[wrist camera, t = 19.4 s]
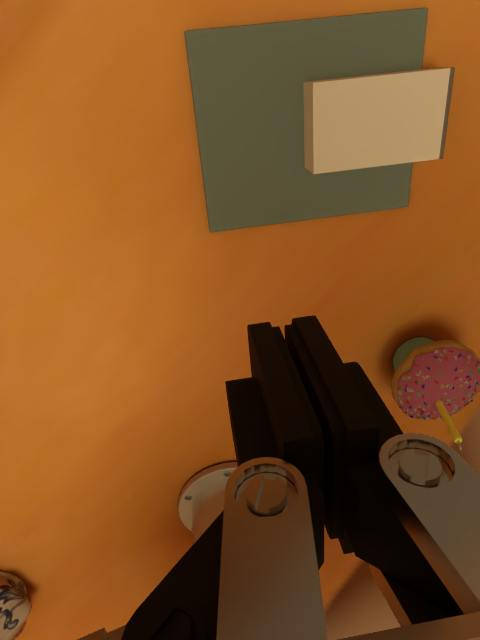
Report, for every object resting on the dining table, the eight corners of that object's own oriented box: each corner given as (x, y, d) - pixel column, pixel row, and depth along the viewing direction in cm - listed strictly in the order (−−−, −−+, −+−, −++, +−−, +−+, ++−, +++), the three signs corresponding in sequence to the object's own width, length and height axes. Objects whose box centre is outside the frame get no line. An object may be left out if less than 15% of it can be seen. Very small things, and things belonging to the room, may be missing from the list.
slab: (304, 167, 35) (425, 153, 36) (313, 174, 33) (442, 158, 34) (303, 81, 32) (435, 67, 33) (313, 82, 30) (454, 67, 31)
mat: (406, 205, 38) (408, 206, 38) (209, 230, 37) (210, 232, 37) (425, 8, 31) (428, 7, 31) (184, 31, 30) (184, 31, 30)
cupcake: (397, 400, 49) (457, 488, 39) (360, 353, 45) (415, 436, 35) (466, 356, 47) (548, 436, 37) (433, 303, 44) (515, 375, 33)
